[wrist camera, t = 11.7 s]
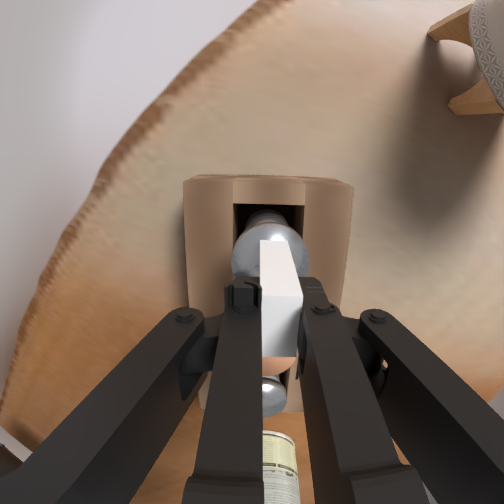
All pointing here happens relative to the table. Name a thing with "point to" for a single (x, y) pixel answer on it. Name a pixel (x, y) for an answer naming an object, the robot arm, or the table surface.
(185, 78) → the table surface
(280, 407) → the grey plug
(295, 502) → the coffee can
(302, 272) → the grey plug
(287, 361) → the terracotta plug
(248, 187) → the wooden slotted block
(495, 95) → the planter
